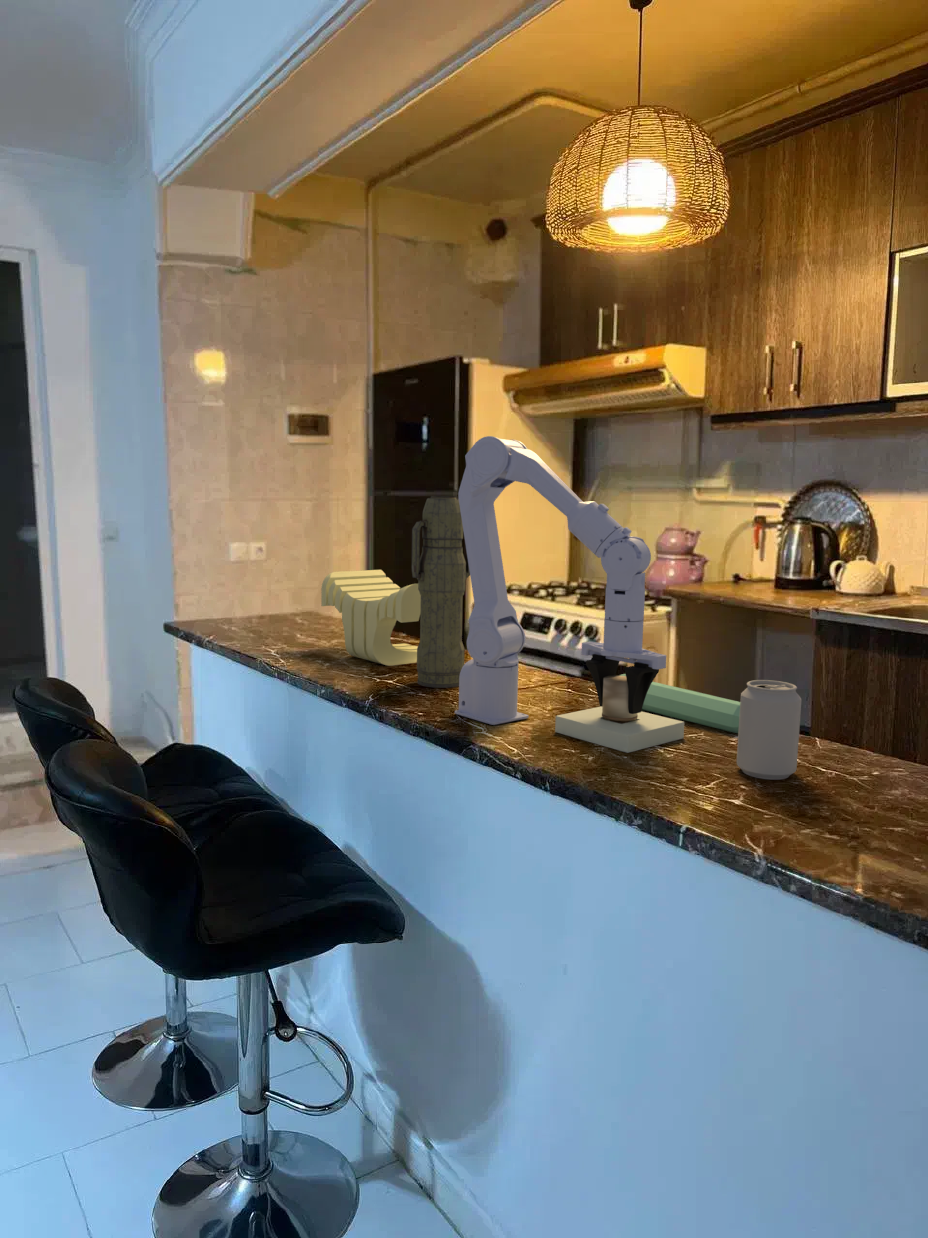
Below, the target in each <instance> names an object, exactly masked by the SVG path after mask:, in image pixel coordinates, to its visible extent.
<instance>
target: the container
mask: <svg viewBox="0 0 928 1238" xmlns="http://www.w3.org/2000/svg"><path fill="white" fill-rule="evenodd" d="M619 676H626V674H625V673H623V674H619ZM642 711H647V712H651V713H653V714H654V713H655V714H657V715H663V716H665V717H669V718H673V719H674V718H675V719H677V720H681V721H682V720H683V721H686V722H691V723H693V724H697V725H702V726H706V727H711V728H715V729H719V730H722V731H727V732H730V733H734V734H738V732H739V716H740V701H737V700H733V699H728V698H724V697H719V696H716V695H712V694H707V693H704V692H703V693H702V692H699V691H695V690H691V689H687V688H686V689H685V688H681V687H677V686H672V685H669V684H664V683H660V682H655V681H653V682H652V683H651V685H650V687H649V689H648V692H647V694H646V697H645V700H644V703H643V707H642Z"/></svg>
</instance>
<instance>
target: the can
mask: <svg viewBox="0 0 928 1238" xmlns="http://www.w3.org/2000/svg"><path fill="white" fill-rule="evenodd" d="M746 686H747V687H746V688H744V690H743V691H742V692H740V701H739V702H740V716H739V732H738V733H737V750H736V766H737V767H738V768H740V769H741V771H742V773H744V774H746V775H748V776H750V777H753V778H756V779H760V780H761V779H762V780H772V781H773V780H775V781H776V780H785V779H788V778H789V777H790V776H791V775H793V774H794V773H795V772H796V771H797V769H798V768H797V766H798V755H799V753H798V752H799V741H800V740H799V739H800V727H801V712H802V711H801V710H802V698H801V696H800V694H798V693H797V691H796V690H798V687H797V686H796V684H793V683H791V682H790V683H789V682H786V681H779V680H769V679H755V680H750V681H747V682H746Z"/></svg>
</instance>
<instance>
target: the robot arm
mask: <svg viewBox="0 0 928 1238" xmlns="http://www.w3.org/2000/svg"><path fill="white" fill-rule="evenodd" d="M464 457H465V469H464V472H463V475H462V479H461V481H460V486H459V488H458V493H457V494H458V495H457V496H458V499H459V505H460V511H461V518H462V524H463V539H464V538H465V544H466V551H467V557H468V564H469V571H470V576H469V578H470V583H471V588H472V589H471V590H472V595H473V602H474V606H473V609H472V611H471V613H470V615H469V617H468V625H469V626H468V627H469V632H468V635H467V639H466V648H467V649H466V650H467V652H468V654H469V656H470V657H471V658H472V659H470V660H468V661H466V662H464V666H463V667H462V669H461V672H460V677H459V686H458V709H456V710H454V714H456V715H458V716H461V717H463V718H469V719H471V720H474V721H477V722H480V723H484V724H489V725H491V726H492V725H493V726H496V725H501V724H506V723H510V722H515V721H520V720H525V719H529V714H525V713H523V712H519V711H518V695H519V694H518V692H519V690H518V689H519V688H518V687H519V661H520V660H519V657H518V655H519V653H520V652H521V651H522V650H523V649H524V646H525V643H526V633H525V631H524V628H523V627H522V625H521V624H520V622H519V620H518V616H517V610H516V608H515V607H514V606H513V605H512V604H511V602H510V601H509V599H508V592H507V584H506V577H505V571H504V565H503V564H504V563H503V558H502V551H501V544H500V537H499V530H498V523H497V518H496V512H495V511H496V510H495V505H494V504H495V501H496V500H497V499H498V498H499V496H500V495H501V494H502V492H503V491H504V490H505V489H506V488H507V487H508V486H510V485H512V484H513V483H514V482H518V483H522V484H528V485H529V486H531V487H532V488H533V489H534V490H535V491H536V492H537V493H539V494H540V495H541V496H542V497H543V498H545V499H546V500H547V501H548V502H549V503H550V504H551V505H552V506H554V507H555V508H556V509H557V510H558V511H559V512H560V513H561V514H563V515H564V516H565V517H566V518H567V528H568V531H569V532H570V533H571V534H572V535H574V537H576V538H577V539H578V540H579V541H580V542H581V543H582V544H583V545H584V546H585V547H586V548H587V549H589V551H591V553H592V554H593V555H595V556H596V557H597V558H599V559H600V564H601V567H602V569H603V570H604V572H605V573H606V587H605V599H604V600H605V602H604V603H605V604H604V620H603V621H604V624H603V642H596V641H584V642H581V655H582V656H591V658H590V659H588V660H585V665H586V667H587V669H588V670H589V673H590V676H591V677H592V680H593V682H594V687H595V690H596V694H597V700H598V705H599V707H601V706H602V705H603V680H604V677H608V676H617V671H618V667H619V664H620V662H624V663H627V664H628V663H629V664H633V665H631V666H625V667H624V668H623V669H624V670H623V671H624V674H626V678H627V684H628V710H629V713H630V714H636V713H640V712H641V711H643V709H642V707H643V703H644V700H645V697H646V694H647V692H648V689H649V687H650V685H651V683H652V682H654V680H655V678H656V677H657V676H658V674H659V672H660V670H662V669H666V668H667V655H666V654H662V653H659V652H655V651H652V650H648V649H645V648H643V641H644V640H643V639H644V638H643V637H644V633H643V632H644V619H645V617H644V616H645V603H646V602H645V599H646V597H645V596H646V588H645V586H646V585H645V583H646V572H645V571H646V570H647V569H648V567H649V566H650V563H651V561H652V560H651V559H652V555H651V550H650V548H649V546H648V544H647V543H646V542H645V540H644V538H641V537H638V536H631V533H632V530H631V529H630V528H629V527H628V526H626V527H623V526H622V525H621V524H620V523H619V522H618V521H617V520H616V519H615V518H614V517H612V516H611V515H610V514H609V513H608V511H609V510H610V508H609V507H608V506H607V505H606V504H604V503H599V504H598V503H597V501H594V500H593V501H591V500H590V501H583V500H582V499H581V498H580V497H579V496H578V495H577V494H576V493H575V492H574V491H573V490H572V488H570V487H569V486H568V485H567V484H566V483H565V482H564V481H563V480H562V478H560V477H559V476H558V474H557V473H556V472H555V471H554V470H553V469H551V467H549V465H548V464H547V463H545V461H544V460H543V459H542V458H541V457H540V456H539V455H538V454H537V453H536V452H534V451H533V450H531V449H529V448H527V446H526V445H525V444H524V443H523V442H521V441H520V440H517V439H504V438H499V437H496V436H493V435H488V436H487V435H486V436H483V437H481V438H479V439H478V440H477V441H476V442H474V444H473V445H472V447H471V448H470V449H469V450H468V451H467V452H466V454H465V456H464Z"/></svg>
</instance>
